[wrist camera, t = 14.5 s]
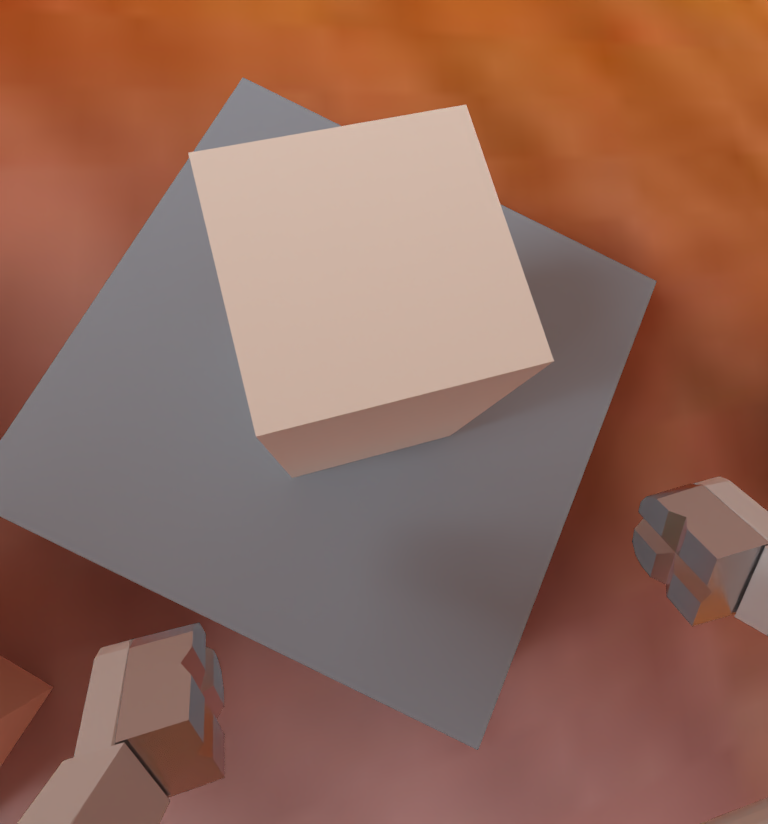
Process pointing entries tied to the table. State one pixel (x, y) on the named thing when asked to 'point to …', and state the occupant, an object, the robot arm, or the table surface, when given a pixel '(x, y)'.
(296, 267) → the off-white column
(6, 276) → the table surface
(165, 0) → the table surface
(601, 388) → the slate plinth block
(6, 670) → the terracotta column
